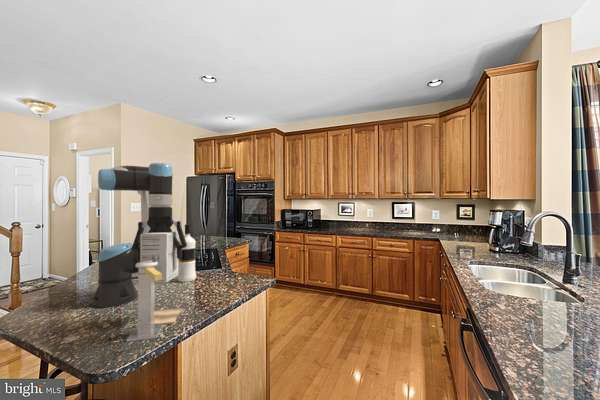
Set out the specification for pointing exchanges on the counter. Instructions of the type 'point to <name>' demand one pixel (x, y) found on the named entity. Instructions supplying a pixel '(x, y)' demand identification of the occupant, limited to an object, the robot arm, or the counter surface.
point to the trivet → (165, 316)
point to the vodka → (187, 258)
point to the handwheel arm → (150, 268)
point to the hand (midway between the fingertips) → (160, 268)
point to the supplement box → (160, 252)
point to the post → (145, 311)
